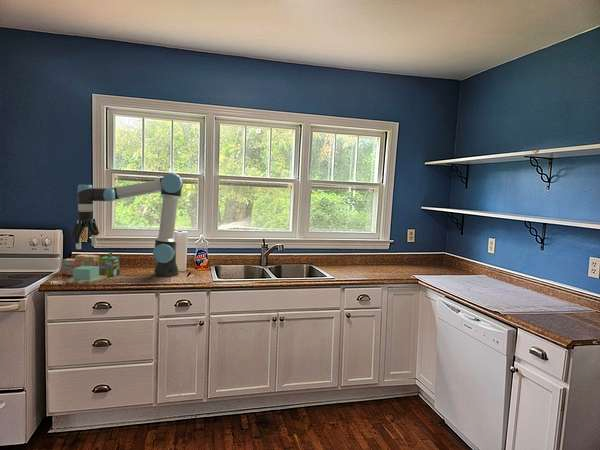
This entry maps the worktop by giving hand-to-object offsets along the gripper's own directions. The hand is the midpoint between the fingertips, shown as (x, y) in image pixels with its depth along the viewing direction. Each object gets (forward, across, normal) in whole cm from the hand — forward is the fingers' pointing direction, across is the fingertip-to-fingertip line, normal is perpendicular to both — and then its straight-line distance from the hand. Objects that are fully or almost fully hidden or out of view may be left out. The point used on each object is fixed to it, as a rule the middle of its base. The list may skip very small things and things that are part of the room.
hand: (86, 247), depth 234 cm
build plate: (+19, 0, -1) cm, 19 cm away
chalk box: (+20, -16, +3) cm, 26 cm away
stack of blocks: (+20, -14, -15) cm, 29 cm away
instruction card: (+19, +10, -12) cm, 25 cm away
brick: (+18, 0, -1) cm, 18 cm away
